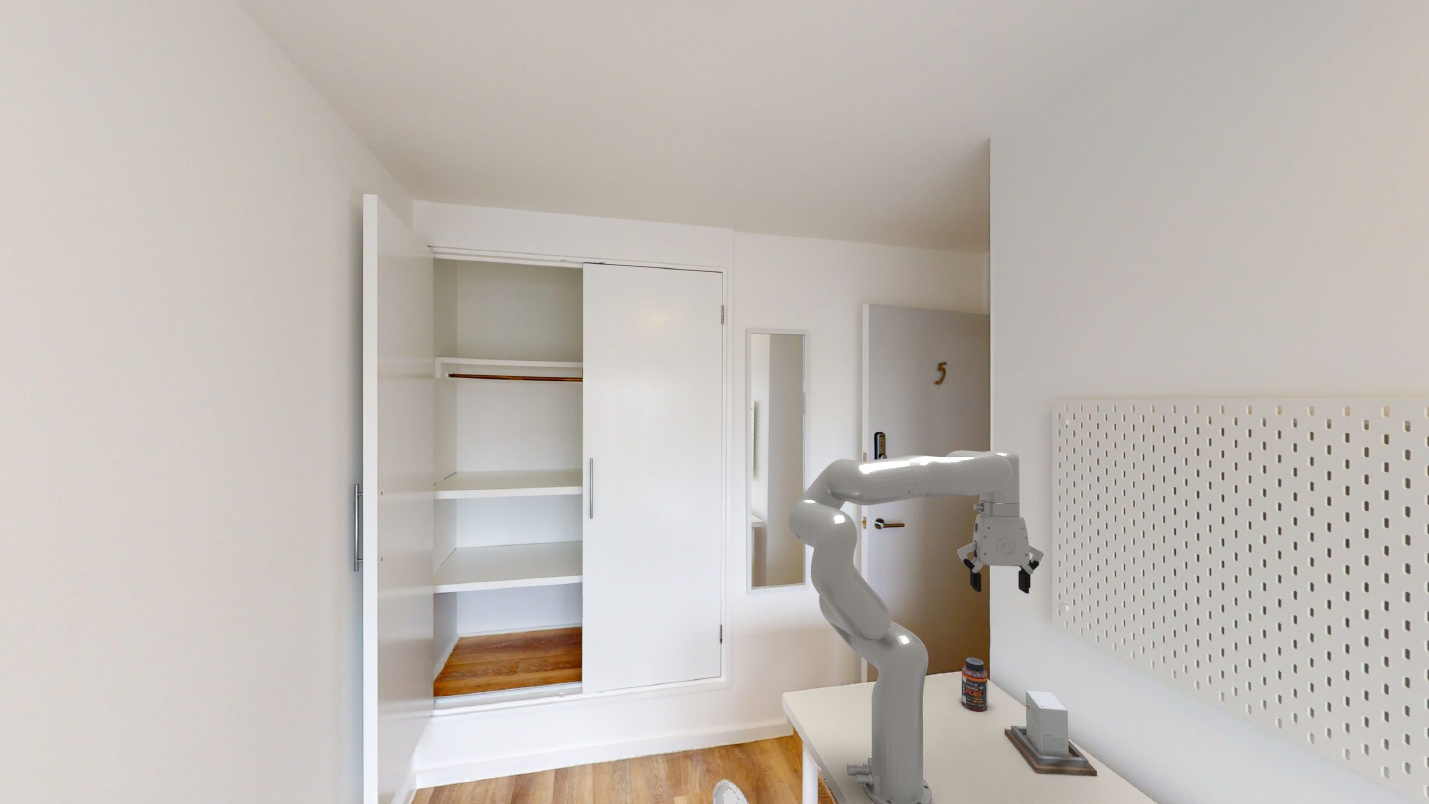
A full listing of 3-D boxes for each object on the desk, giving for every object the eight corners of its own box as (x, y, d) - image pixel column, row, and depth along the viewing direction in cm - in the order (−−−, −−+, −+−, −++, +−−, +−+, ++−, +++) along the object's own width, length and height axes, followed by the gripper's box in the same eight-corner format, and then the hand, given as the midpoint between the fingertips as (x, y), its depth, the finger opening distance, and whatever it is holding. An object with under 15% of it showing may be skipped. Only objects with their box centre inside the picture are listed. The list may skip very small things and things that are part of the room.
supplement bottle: (963, 710, 137) (963, 664, 137) (960, 698, 142) (959, 654, 143) (989, 713, 135) (989, 667, 135) (985, 701, 140) (985, 657, 141)
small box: (1069, 761, 115) (1068, 710, 115) (1040, 758, 116) (1039, 707, 116) (1052, 739, 122) (1052, 691, 123) (1025, 736, 124) (1025, 689, 124)
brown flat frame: (1035, 772, 112) (1035, 761, 113) (1004, 733, 126) (1004, 723, 126) (1096, 775, 112) (1096, 763, 112) (1058, 735, 126) (1058, 725, 126)
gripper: (964, 512, 113) (964, 595, 113) (1051, 513, 112) (1052, 598, 111) (951, 506, 121) (951, 584, 120) (1032, 507, 119) (1033, 586, 119)
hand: (1000, 590), depth 116 cm, fingers open, 9 cm apart
